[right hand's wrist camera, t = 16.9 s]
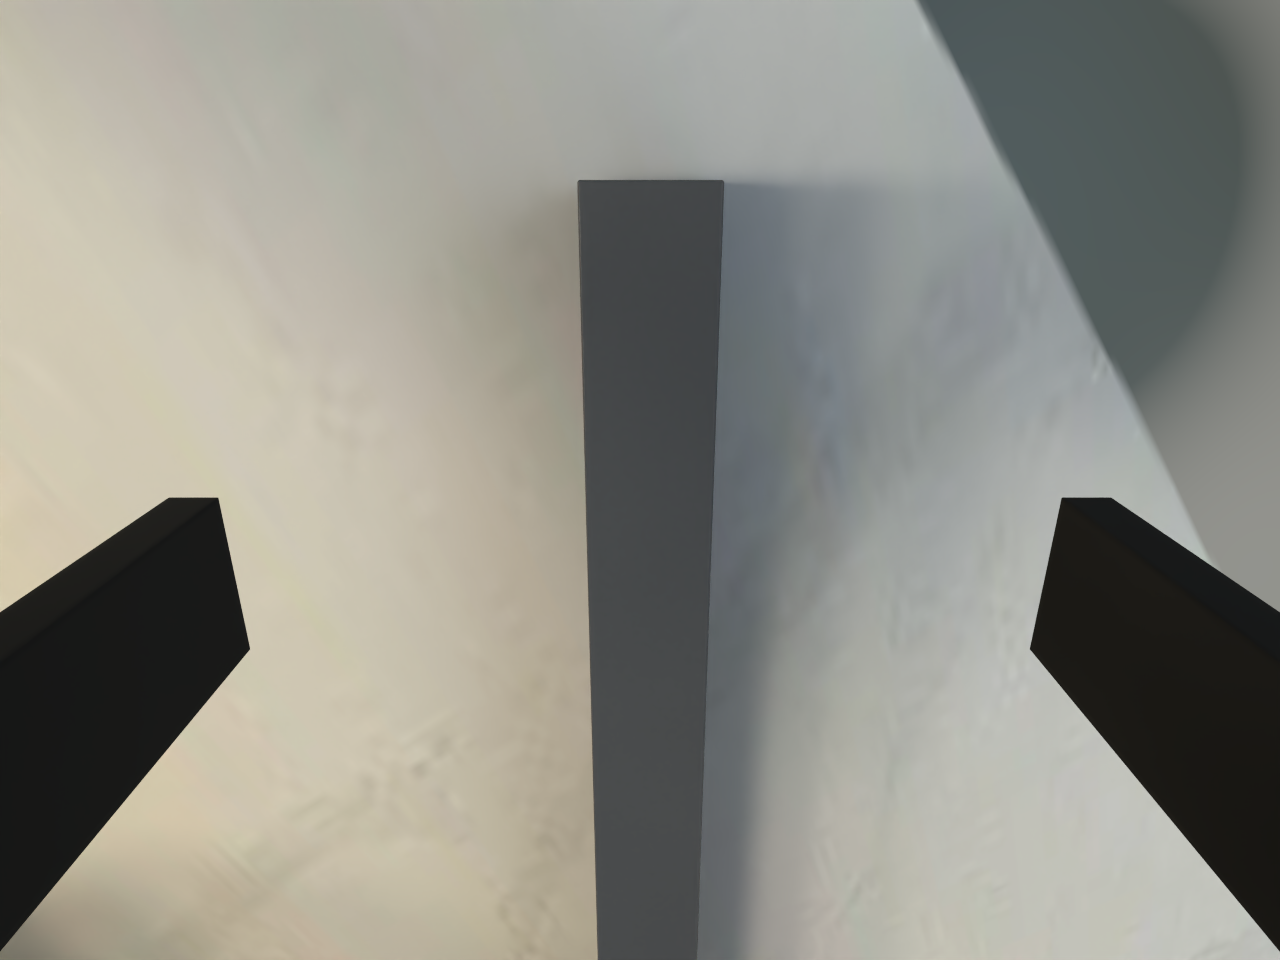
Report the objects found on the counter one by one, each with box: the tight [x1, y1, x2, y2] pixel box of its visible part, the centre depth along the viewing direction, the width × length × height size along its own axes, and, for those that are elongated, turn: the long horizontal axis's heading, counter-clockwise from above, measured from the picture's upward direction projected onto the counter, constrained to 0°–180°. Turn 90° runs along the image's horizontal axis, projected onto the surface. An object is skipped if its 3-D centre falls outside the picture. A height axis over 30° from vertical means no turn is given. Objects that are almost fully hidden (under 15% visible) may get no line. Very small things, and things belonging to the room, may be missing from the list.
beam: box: [578, 180, 724, 960], centre depth 45 cm, size 83×5×9 cm, turn 0°
